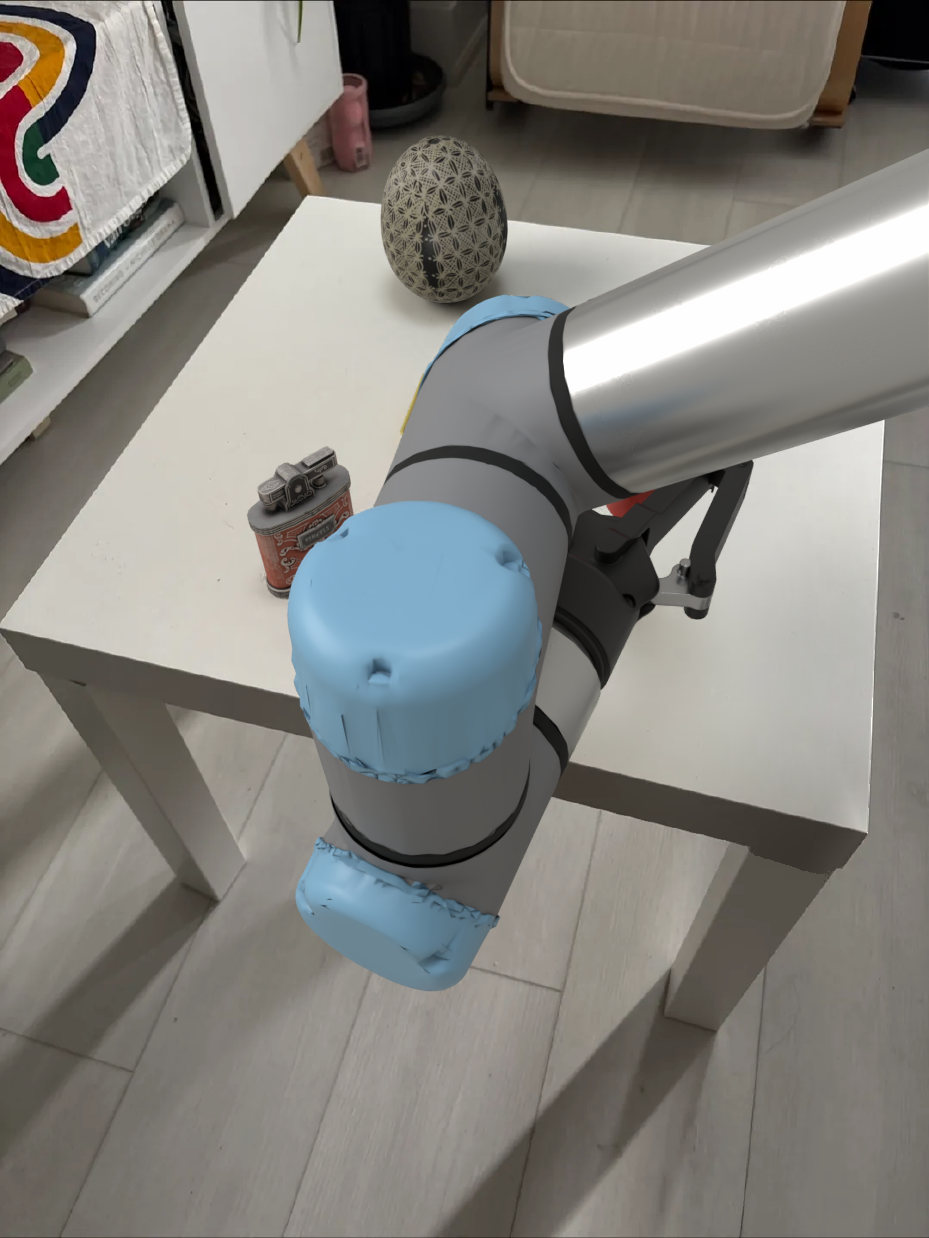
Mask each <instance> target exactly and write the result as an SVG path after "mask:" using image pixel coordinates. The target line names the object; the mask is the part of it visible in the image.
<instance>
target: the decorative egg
mask: <svg viewBox="0 0 929 1238" xmlns="http://www.w3.org/2000/svg"><path fill="white" fill-rule="evenodd" d="M506 206H507V205H506V202H505V197H504V194H503V190H502V187H501V185H500V182H499V180H498V178H497V175H496V174H495V171H494V170H493V168H492V166H491V165H490V163H489V162H488V160H486V158H485V157H484V155H482V154H481V152H479V151H478V150H477V149H476V148H475V147H474V146H472V145H471V144H469V143H467V141H465V140H462V139H460V138H457V137H454V136H451V135H445V134H439V135H438V134H437V135H429V136H426V137H423V138H421V139H419V140H417V141H416V142H414V143H413V144H412V145H410V146H409V147H408V148H407V149H406V150H405V151H404V152H402V154H401V155H400V157H399V158H398V159H397V161H396V162H395V163H394V165H393V167H392V169H391V171H390V172H389V174H388V177H387V179H386V182H385V185H384V189H383V194H382V199H381V206H380V234H381V240H382V246H383V250H384V253H385V257H386V259H387V261H388V264H389V266H390V268H391V270H392V272H393V273H394V274H395V276H396V278H397V279H398V280H399V281H400V282H401V284H402V285H403V286H404V287H405V288H406V289H407V290H409V291H410V292H411V293H413V294H414V295H416V296H418V297H419V298H422V299H424V300H426V301H429V302H432V303H433V302H434V303H437V304H438V303H440V304H453V303H458V302H462V301H464V300H465V301H466V300H468V299H470V298H472V297H474V296H475V295H477V294H478V293H480V292H481V291H483V289H485V288H486V287H487V286H488V285H489V283H490V282H491V281H492V280H493V279H494V277H495V276H496V274H497V273H498V271H499V269H500V267H501V266H502V263H503V260H504V256H505V254H506V249H507V246H508V245H507V243H508V236H509V235H508V234H509V225H508V212H507V207H506Z"/></svg>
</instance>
